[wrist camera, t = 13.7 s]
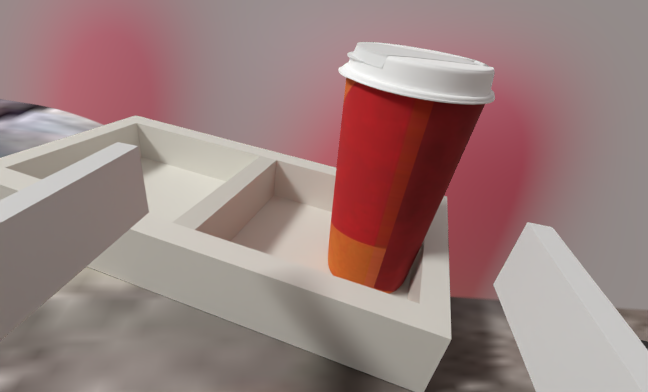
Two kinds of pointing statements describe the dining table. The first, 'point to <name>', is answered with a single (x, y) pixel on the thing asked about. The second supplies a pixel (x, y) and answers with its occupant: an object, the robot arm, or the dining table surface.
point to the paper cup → (398, 154)
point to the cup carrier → (259, 248)
